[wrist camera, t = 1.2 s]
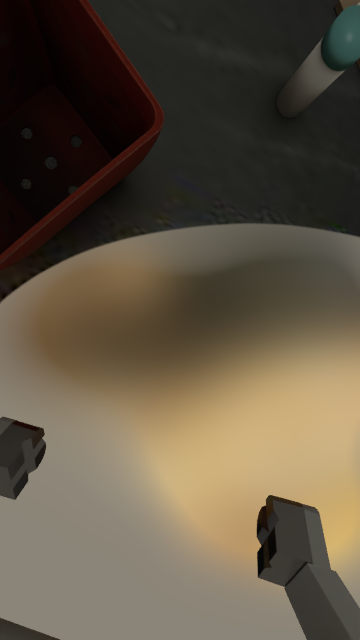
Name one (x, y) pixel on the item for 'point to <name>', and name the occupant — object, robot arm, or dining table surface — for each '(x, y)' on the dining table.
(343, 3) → the picture frame
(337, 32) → the marker
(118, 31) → the dining table surface
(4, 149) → the plant pot
